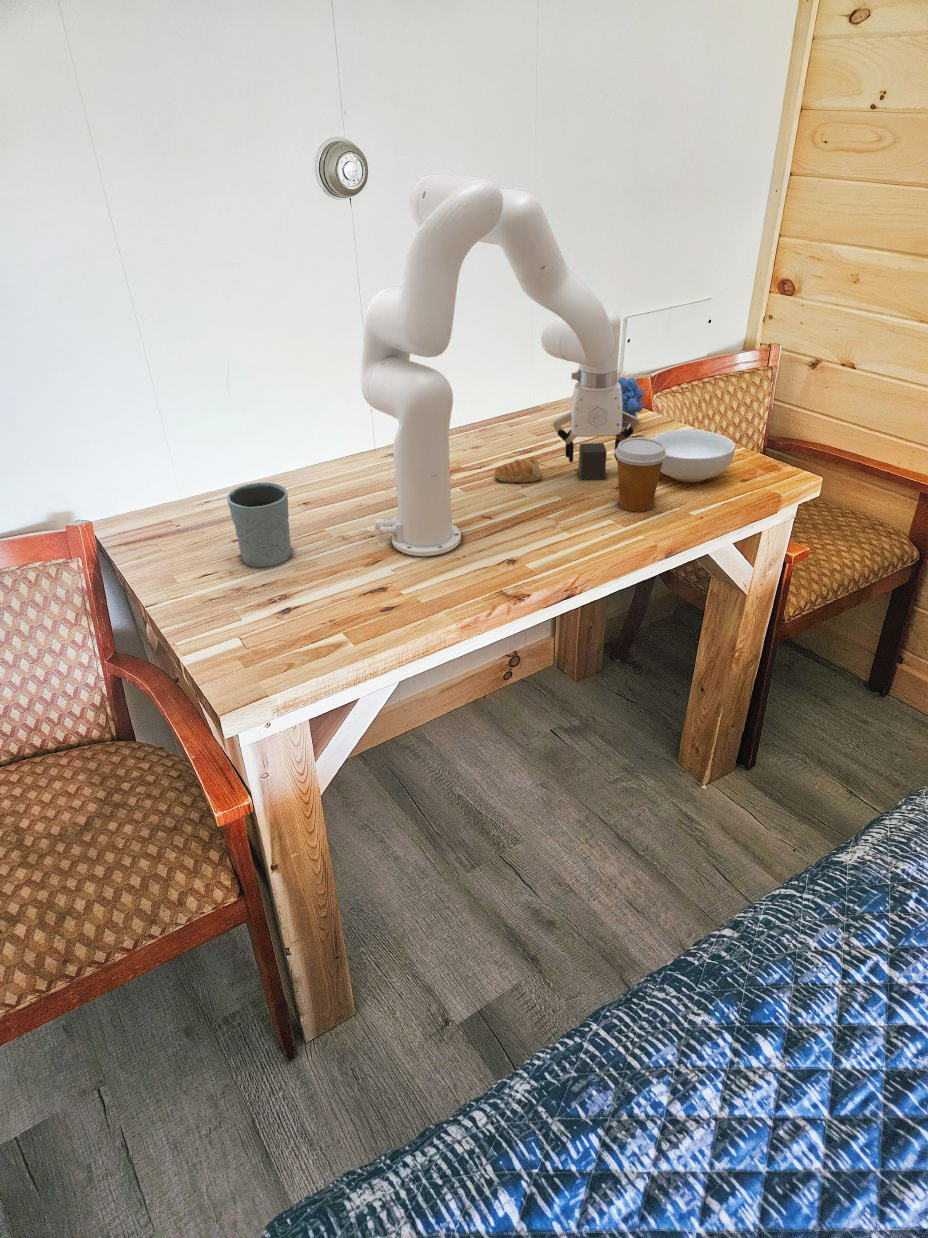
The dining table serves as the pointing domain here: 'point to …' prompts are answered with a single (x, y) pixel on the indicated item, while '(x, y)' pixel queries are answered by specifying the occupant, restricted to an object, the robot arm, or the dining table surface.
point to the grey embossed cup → (261, 523)
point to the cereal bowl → (695, 454)
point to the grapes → (630, 397)
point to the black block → (592, 461)
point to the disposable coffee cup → (638, 472)
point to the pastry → (519, 471)
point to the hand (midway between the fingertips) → (593, 459)
